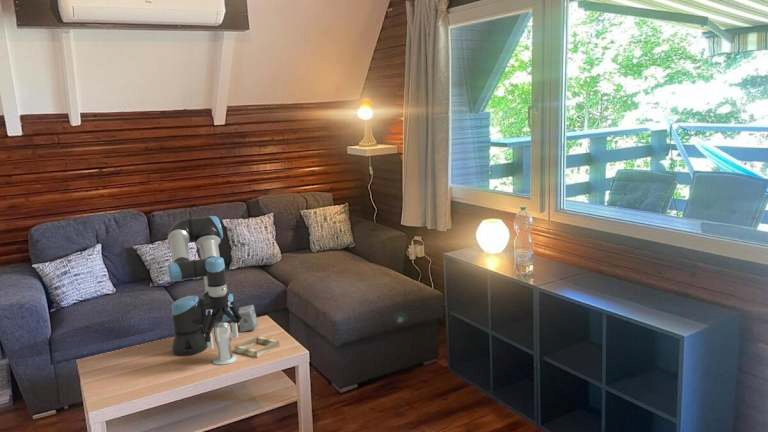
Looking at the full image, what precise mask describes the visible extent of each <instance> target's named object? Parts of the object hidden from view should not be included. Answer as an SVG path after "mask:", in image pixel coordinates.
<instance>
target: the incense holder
mask: <svg viewBox="0 0 768 432" xmlns="http://www.w3.org/2000/svg"><path fill="white" fill-rule="evenodd" d="M255 310H256V309H255V306H254V304H250V305H246V306H243V307H242V306H241V307H238V312H239V314H240V316H241V320H240V322H239V323H238V324H239V326H240V327H239V330H240V333H244V332H248V331H253V330H255V329H256V327H257V325H258V318H257V314H256V311H255Z"/></svg>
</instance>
